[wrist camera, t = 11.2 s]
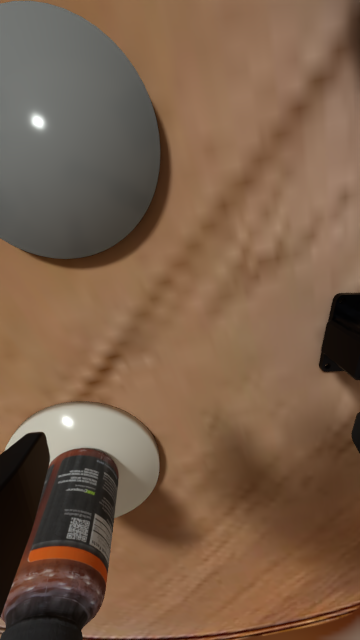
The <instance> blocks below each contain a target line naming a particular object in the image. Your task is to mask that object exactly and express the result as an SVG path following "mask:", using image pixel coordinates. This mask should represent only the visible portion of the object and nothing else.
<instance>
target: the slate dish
mask: <svg viewBox="0 0 360 640" xmlns="http://www.w3.org/2000/svg"><path fill="white" fill-rule="evenodd" d="M159 169H160V139H159V131H158V126H157V120H156V116H155V113H154V109H153V106H152V103H151V100H150V98H149V95H148V93H147V91H146V88H145V86H144V84H143V82H142V80H141V79H140V77H139V75H138V73H137V71H136V70H135V68H134V67H133V65H132V64H131V62H130V61H129V60H128V58H127V57H126V56H125V54H124V53H123V52H122V51H121V50H120V49H119V47H118V46H117V45H116V44H115V43H114V42H113V41H112V40H111V39H110V38H109V37H108V36H107V35H105V34H104V33H103V32H102V31H101V30H100V29H99V28H97V27H96V26H94V25H93V24H91V23H90V22H88V21H87V20H85V19H84V18H82V17H81V16H79V15H76V14H74V13H72V12H70V11H68V10H66V9H64V8H60V7H57V6H54V5H51V4H48V3H41V2H34V1H12V2H7V3H2V4H0V238H1V239H2V240H4V241H6V242H8V243H9V244H11V245H13V246H15V247H17V248H19V249H22V250H24V251H26V252H29V253H33V254H36V255H39V256H44V257H50V258H60V259H71V258H81V257H86V256H91V255H94V254H96V253H99V252H102V251H104V250H106V249H108V248H110V247H112V246H114V245H115V244H117V243H118V242H119V241H121V240H122V239H124V238H125V237H126V236H127V235H128V234H129V233H130V232H131V231H132V230H133V229H134V228H135V227H136V226H137V224H138V223H139V222H140V221H141V219H142V218H143V216H144V214H145V213H146V211H147V209H148V208H149V205H150V203H151V201H152V198H153V196H154V192H155V189H156V185H157V181H158V175H159Z"/></svg>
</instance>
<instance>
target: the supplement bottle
mask: <svg viewBox="0 0 360 640" xmlns="http://www.w3.org/2000/svg"><path fill="white" fill-rule="evenodd" d="M118 479H119V472H118V468H117V466H116V464H115V462H114V461H113V460H112V459H111V457H109V456H108V455H106V454H104V453H102V452H100V451H98V450H94V449H88V448H80V449H78V448H77V449H72V450H69V451H66V452H64V453H62V454H60V455H59V456H57V457H56V458H55V459H54V460H53V461H52V462H51V463H50V465H49V467H48V471H47V475H46V479H45V483H44V487H43V491H42V495H41V499H40V503H39V506H38V510H37V514H36V518H35V522H34V525H33V528H32V531H31V534H30V537H29V540H28V543H27V545H26V548H25V551H24V554H23V556H22V559H21V562H20V565H19V567H18V570H17V573H16V576H15V578H14V581H13V584H12V587H11V590H10V592H9V595H8V598H7V601H6V603H5V606H4V609H3V612H2V614H1V618H2V620H3V621H4V622H5V624H6V630H5V632H4V633H2V636H1V638H0V640H82V639H83V637H82V632H81V630H82V628H83V627H84V626H85V625H86V624H87V623H88V622H90V620H91V619H93V618H94V617H95V615H96V614H97V612H98V611H99V609H100V607H101V605H102V602H103V599H104V595H105V590H106V582H107V573H108V566H109V557H110V549H111V540H112V532H113V523H114V515H115V506H116V498H117V490H118Z"/></svg>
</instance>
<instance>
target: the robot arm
mask: <svg viewBox="0 0 360 640" xmlns="http://www.w3.org/2000/svg"><path fill="white" fill-rule="evenodd" d="M341 298H343V300H342V301H341V302H340V303H339V301H340V299H341ZM326 364H328V365H327V366H325V365H326ZM319 367H320V368H321V369H322V370H323V371H326V372H329V371H345V372H347V373H348V374H349V375H350V376H351V377H353V378H354V379H355V380H359V381H360V293H339V294H337V295H335V297H334V298H333V302H332V306H331V311H330V316H329V320H328V323H327V326H326V331H325V336H324V340H323V345H322V353H321V358H320V362H319ZM352 440H353V442H354V444H355V446H356V448H357V449H358V451H359V453H360V412H359V413H358V414H357V416H356V419H355V423H354V426H353V430H352ZM49 463H50V453H49V448H48V444H47V439H46V435H45V433H43V432H31V433H27V434H26V435H24V436H23V437H22V438H20V439H19V440H18V441H17V442H15V443H14V444H13V445H12V446H10V447H9V448H8V449H7V450H5V451H4V452H3V453H2V454H1V455H0V617H1V614H2V612H3V609H4V606H5V603H6V601H7V598H8V595H9V592H10V590H11V587H12V584H13V581H14V578H15V576H16V573H17V570H18V567H19V565H20V562H21V559H22V556H23V554H24V551H25V548H26V545H27V543H28V540H29V537H30V534H31V531H32V528H33V525H34V522H35V518H36V514H37V510H38V506H39V503H40V499H41V495H42V491H43V487H44V483H45V479H46V475H47V471H48V467H49Z"/></svg>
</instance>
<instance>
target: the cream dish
mask: <svg viewBox="0 0 360 640" xmlns="http://www.w3.org/2000/svg"><path fill="white" fill-rule="evenodd" d="M31 432H43V433H45V435H46V439H47V444H48V448H49V453H50V463H51V462H52V461H53V460H54V459H55V458H56V457H57V456H59V455H60V454H62V453H64V452H66V451H69V450H72V449H77V448H78V449H80V448H88V449H94V450H98V451H100V452H102V453H104V454H106V455H108V456H109V457H111V459H112V460H113V461H114V462H115V464H116V466H117V468H118V472H119V479H118V490H117V498H116V506H115V515H114V518H116V517H119V516H121V515H123V514H126V513H128V512H129V511H131V510H133V509H135V508H136V507H137V506H139V505H140V504H141V503H142V502H143V501H145V500H146V498H147V497H148V496H149V495H150V494H151V492H152V491H153V489H154V487H155V485H156V483H157V480H158V476H159V450H158V447H157V443H156V441H155V439H154V437H153V435H152V434H151V432H150V431H149V430H148V428H147V427H146V426H145V425H144V424H143V423H142V422H140V421H139V420H138V419H137V418H136V417H134V416H132V415H131V414H129V413H127V412H125V411H123V410H121V409H119V408H116V407H113V406H110V405H106V404H102V403H96V402H82V401H76V402H66V403H61V404H57V405H53V406H50V407H47V408H45V409H43V410H41V411H38V412H36V413H35V414H33V415H32V416H30V417H29V418H28V419H26V420H25V421H24V422H23V423H22V424H21V425H20V426H19V427H18V429H17V430H16V431H15V433H14V435H13V436H12V438H11V439H10V441H9V443H8V444H7V446H6V448H5V450H7V449H8V448H9V447H10V446H12V445H13V444H14V443H15V442H17V441H18V440H19V439H20V438H22V437H23V436H24V435H26V434H27V433H31ZM50 463H49V465H50Z"/></svg>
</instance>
